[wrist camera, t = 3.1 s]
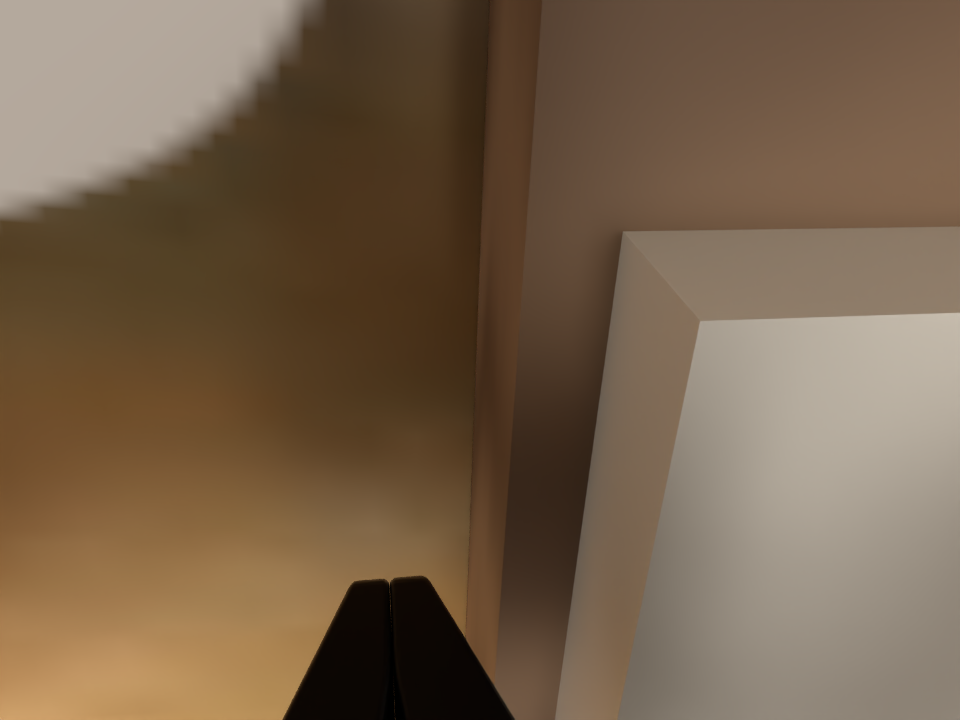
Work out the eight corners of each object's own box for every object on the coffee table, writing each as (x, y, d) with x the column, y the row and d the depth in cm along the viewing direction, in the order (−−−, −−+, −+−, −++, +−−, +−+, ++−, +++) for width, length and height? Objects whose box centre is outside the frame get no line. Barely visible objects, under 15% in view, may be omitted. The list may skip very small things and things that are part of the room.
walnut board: (947, 687, 18) (1045, 813, 15) (462, 740, 16) (480, 890, 14) (1468, -257, 9) (1911, -332, 6) (502, -347, 7) (577, -494, 5)
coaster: (1012, 671, 13) (1115, 788, 11) (555, 719, 11) (588, 859, 10) (1287, 222, 9) (1519, 294, 7) (622, 230, 7) (700, 321, 6)
